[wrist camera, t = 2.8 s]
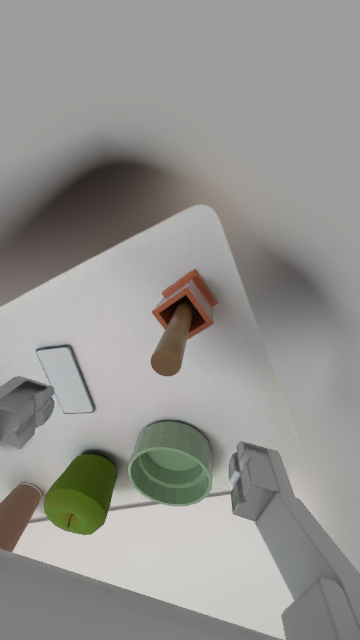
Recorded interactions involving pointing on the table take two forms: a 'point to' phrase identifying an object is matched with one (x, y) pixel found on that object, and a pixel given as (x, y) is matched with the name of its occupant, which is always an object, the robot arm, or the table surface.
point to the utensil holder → (196, 294)
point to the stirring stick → (173, 340)
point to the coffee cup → (17, 513)
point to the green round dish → (171, 464)
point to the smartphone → (65, 379)
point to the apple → (82, 495)
